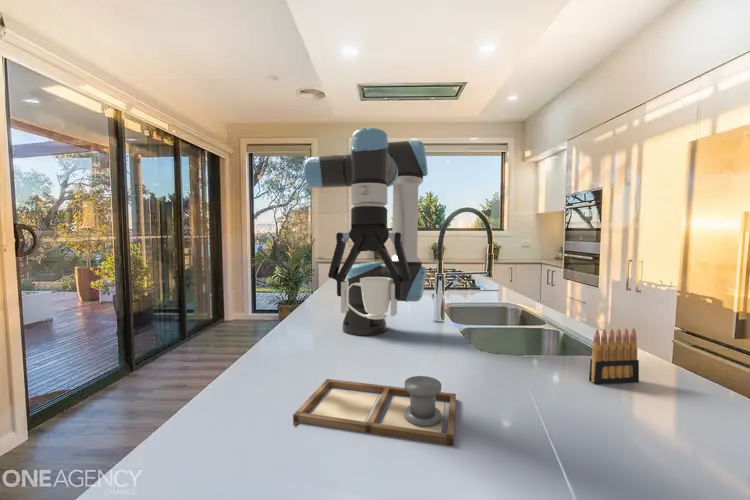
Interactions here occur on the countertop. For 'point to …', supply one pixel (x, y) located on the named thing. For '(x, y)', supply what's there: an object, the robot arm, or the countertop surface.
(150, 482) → the countertop surface
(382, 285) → the cup
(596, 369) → the ammunition clip
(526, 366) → the countertop surface
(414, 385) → the doorknob
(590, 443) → the countertop surface
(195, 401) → the countertop surface
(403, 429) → the slot tray
